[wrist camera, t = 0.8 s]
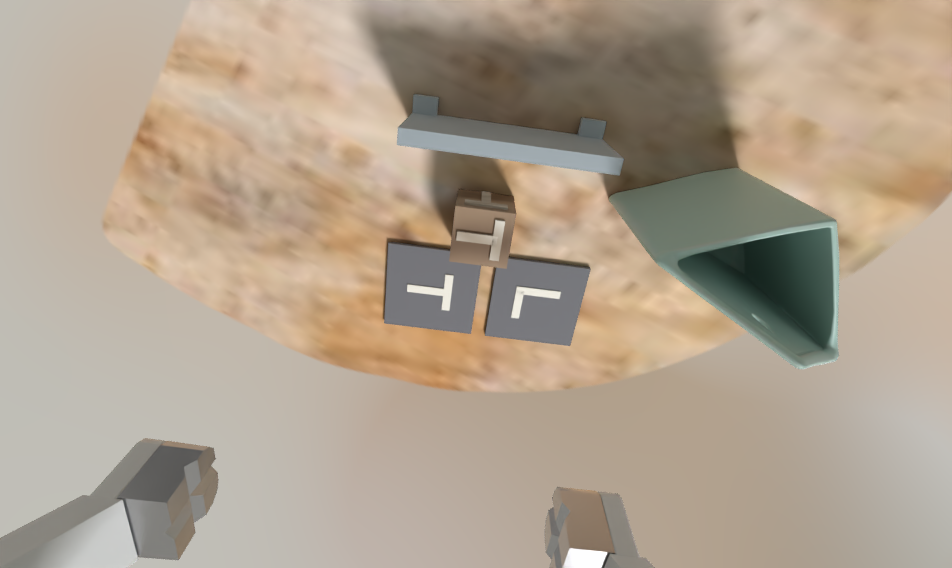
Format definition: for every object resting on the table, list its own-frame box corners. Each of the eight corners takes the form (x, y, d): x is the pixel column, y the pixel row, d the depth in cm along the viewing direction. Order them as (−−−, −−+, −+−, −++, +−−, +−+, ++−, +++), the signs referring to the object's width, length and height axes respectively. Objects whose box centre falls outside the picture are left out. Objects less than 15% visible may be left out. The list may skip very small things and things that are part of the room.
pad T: (389, 241, 46) (388, 243, 45) (482, 253, 46) (482, 255, 46) (385, 321, 50) (384, 323, 50) (470, 331, 50) (470, 334, 50)
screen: (414, 93, 40) (399, 106, 33) (604, 120, 40) (629, 138, 33) (411, 142, 42) (395, 164, 34) (593, 167, 42) (614, 194, 35)
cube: (459, 186, 43) (455, 204, 39) (513, 193, 44) (516, 212, 39) (452, 239, 46) (448, 262, 41) (504, 246, 46) (506, 269, 41)
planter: (806, 211, 44) (1019, 329, 26) (743, 279, 47) (896, 424, 29) (662, 120, 40) (797, 184, 23) (606, 199, 44) (687, 310, 26)
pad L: (498, 255, 46) (498, 257, 46) (589, 267, 47) (590, 269, 46) (485, 333, 50) (485, 336, 50) (569, 343, 51) (570, 346, 50)
